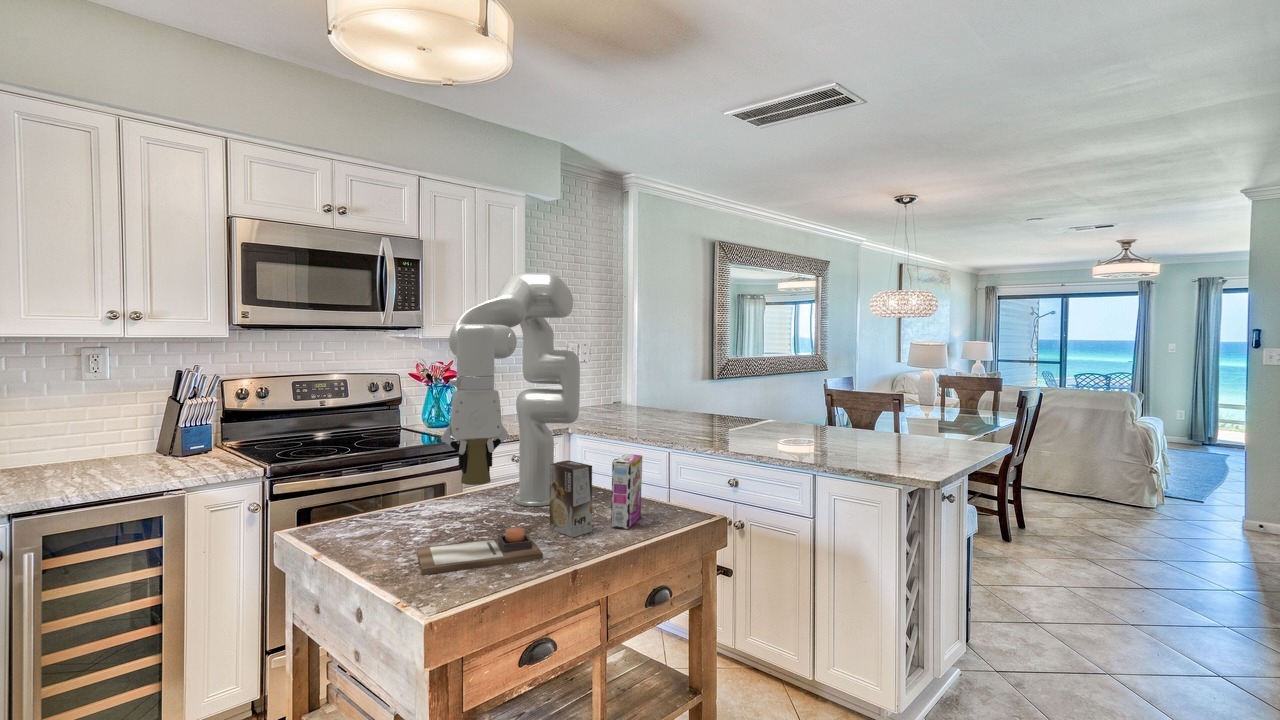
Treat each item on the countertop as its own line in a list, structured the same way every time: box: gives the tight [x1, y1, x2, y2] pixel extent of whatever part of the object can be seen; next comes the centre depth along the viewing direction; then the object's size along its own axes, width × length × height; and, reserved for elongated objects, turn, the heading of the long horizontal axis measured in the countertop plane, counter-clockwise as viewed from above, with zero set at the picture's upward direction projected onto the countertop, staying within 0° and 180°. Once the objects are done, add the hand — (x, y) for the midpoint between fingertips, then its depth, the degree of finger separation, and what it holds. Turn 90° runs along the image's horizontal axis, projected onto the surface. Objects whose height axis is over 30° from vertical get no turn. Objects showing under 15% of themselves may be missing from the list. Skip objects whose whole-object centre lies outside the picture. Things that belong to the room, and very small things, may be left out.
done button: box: [504, 526, 525, 542], centre depth 136 cm, size 4×4×2 cm
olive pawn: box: [460, 439, 492, 486], centre depth 132 cm, size 6×6×11 cm
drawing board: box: [416, 532, 544, 576], centre depth 133 cm, size 13×24×3 cm, turn 114°
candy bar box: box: [610, 453, 643, 530], centre depth 157 cm, size 11×5×16 cm, turn 164°
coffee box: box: [549, 460, 593, 538], centre depth 150 cm, size 9×6×16 cm
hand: (475, 470), depth 132 cm, fingers closed on olive pawn, 4 cm apart
